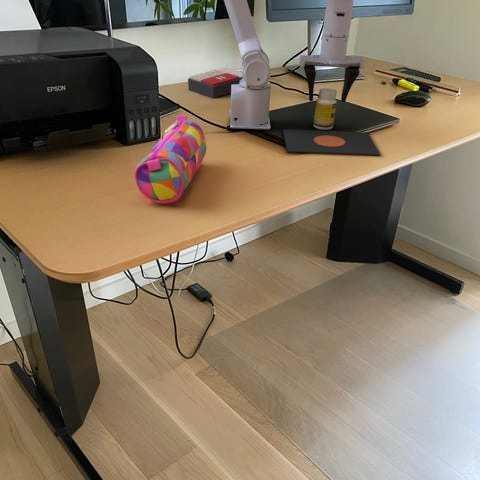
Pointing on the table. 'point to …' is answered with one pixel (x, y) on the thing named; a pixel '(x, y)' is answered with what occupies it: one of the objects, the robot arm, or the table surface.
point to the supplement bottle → (325, 109)
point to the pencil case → (171, 162)
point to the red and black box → (215, 82)
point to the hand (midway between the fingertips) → (326, 100)
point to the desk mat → (329, 142)
